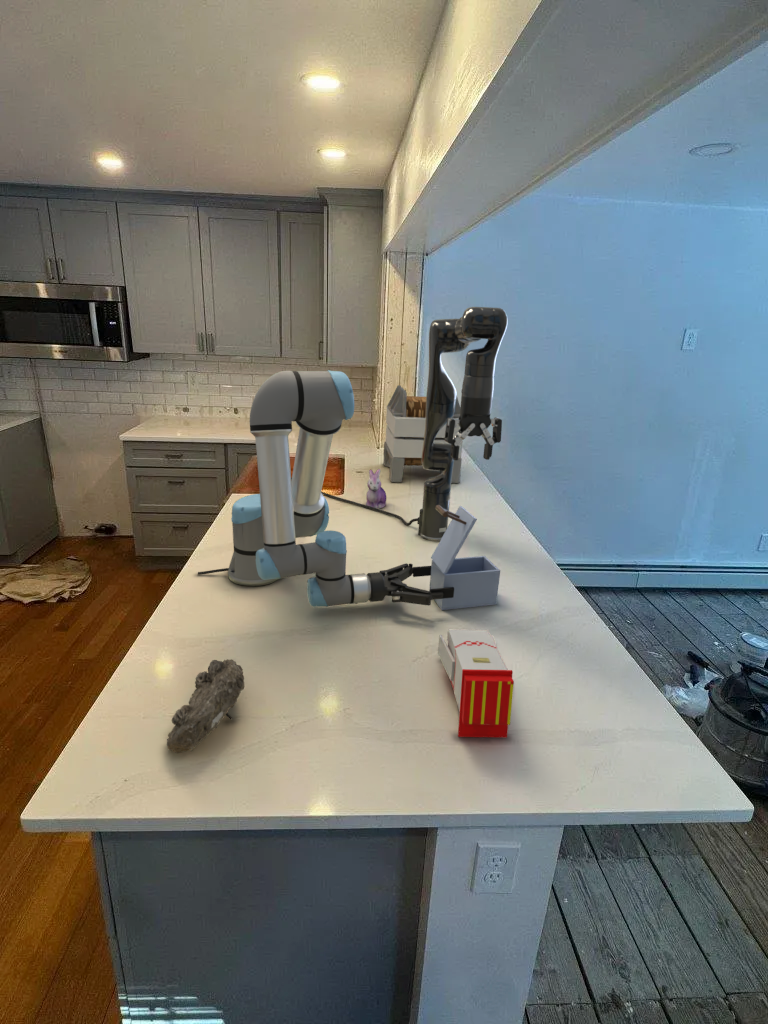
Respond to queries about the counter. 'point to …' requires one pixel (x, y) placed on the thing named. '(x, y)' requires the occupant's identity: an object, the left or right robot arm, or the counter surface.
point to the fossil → (206, 705)
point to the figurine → (375, 491)
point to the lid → (452, 537)
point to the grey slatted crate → (411, 434)
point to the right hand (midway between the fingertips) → (470, 459)
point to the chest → (467, 582)
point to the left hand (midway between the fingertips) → (444, 580)
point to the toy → (478, 682)
